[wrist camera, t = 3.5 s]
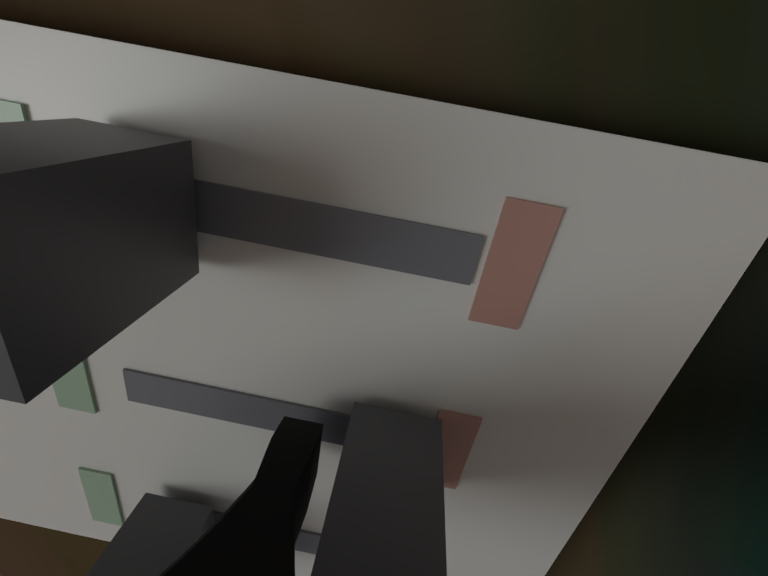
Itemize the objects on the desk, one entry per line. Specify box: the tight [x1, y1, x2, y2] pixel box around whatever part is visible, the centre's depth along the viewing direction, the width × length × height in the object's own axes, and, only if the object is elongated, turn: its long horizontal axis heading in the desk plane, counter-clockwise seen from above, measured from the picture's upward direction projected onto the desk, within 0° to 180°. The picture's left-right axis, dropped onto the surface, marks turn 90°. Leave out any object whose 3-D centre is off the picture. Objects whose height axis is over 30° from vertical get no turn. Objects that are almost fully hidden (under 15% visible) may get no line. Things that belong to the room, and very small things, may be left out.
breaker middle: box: [311, 402, 447, 576], centre depth 9 cm, size 3×2×4 cm
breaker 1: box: [0, 118, 199, 404], centre depth 7 cm, size 3×2×4 cm
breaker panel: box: [0, 19, 768, 576], centre depth 12 cm, size 18×22×2 cm
